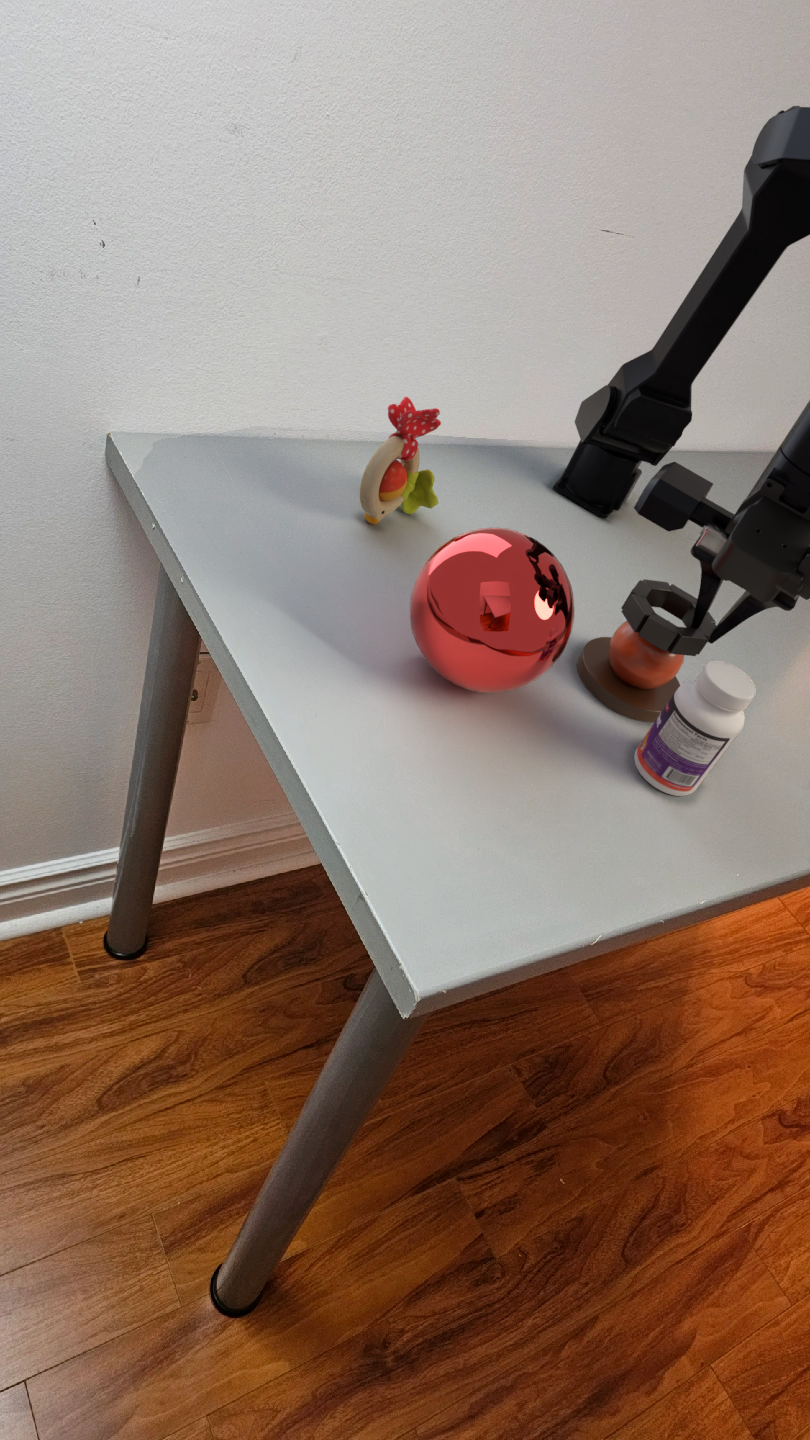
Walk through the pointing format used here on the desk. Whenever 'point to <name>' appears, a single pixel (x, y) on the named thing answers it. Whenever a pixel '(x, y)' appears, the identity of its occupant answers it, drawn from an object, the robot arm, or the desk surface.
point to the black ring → (661, 629)
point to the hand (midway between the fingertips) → (701, 635)
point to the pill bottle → (695, 729)
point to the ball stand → (629, 673)
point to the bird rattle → (399, 466)
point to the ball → (492, 610)
